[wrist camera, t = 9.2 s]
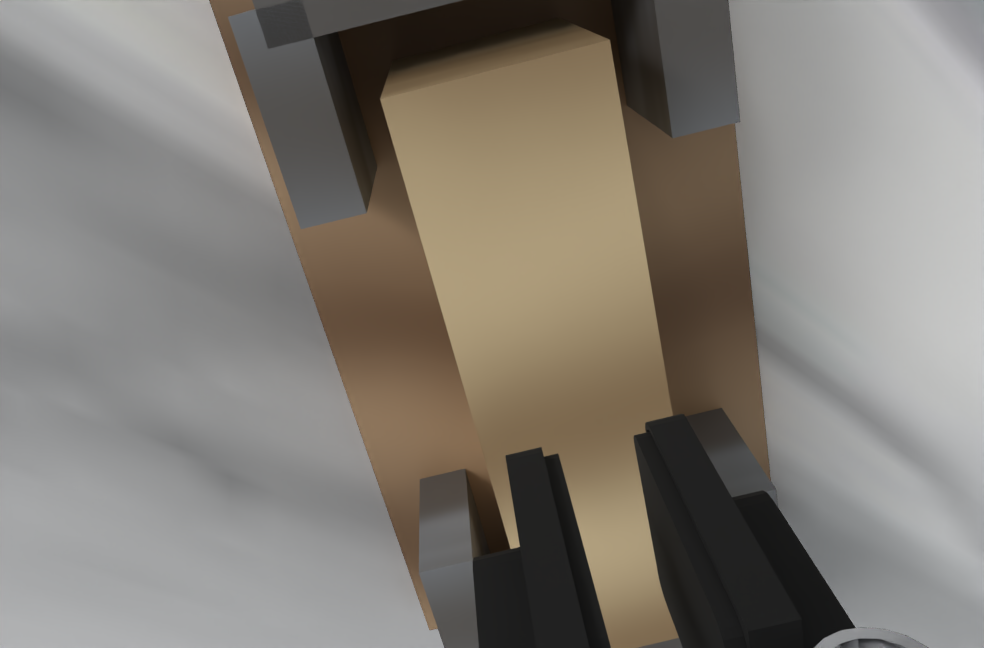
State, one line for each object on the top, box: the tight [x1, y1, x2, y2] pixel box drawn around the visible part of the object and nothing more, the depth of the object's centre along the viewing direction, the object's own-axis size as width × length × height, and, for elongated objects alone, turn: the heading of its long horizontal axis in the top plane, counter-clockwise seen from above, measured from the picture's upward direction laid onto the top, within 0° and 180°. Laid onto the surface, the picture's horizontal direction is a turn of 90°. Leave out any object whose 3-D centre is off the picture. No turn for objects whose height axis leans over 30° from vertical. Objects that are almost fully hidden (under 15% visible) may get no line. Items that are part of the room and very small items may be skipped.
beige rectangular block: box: [380, 18, 679, 648], centre depth 17 cm, size 12×4×5 cm, turn 13°
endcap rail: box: [209, 0, 778, 648], centre depth 18 cm, size 18×10×4 cm, turn 13°
